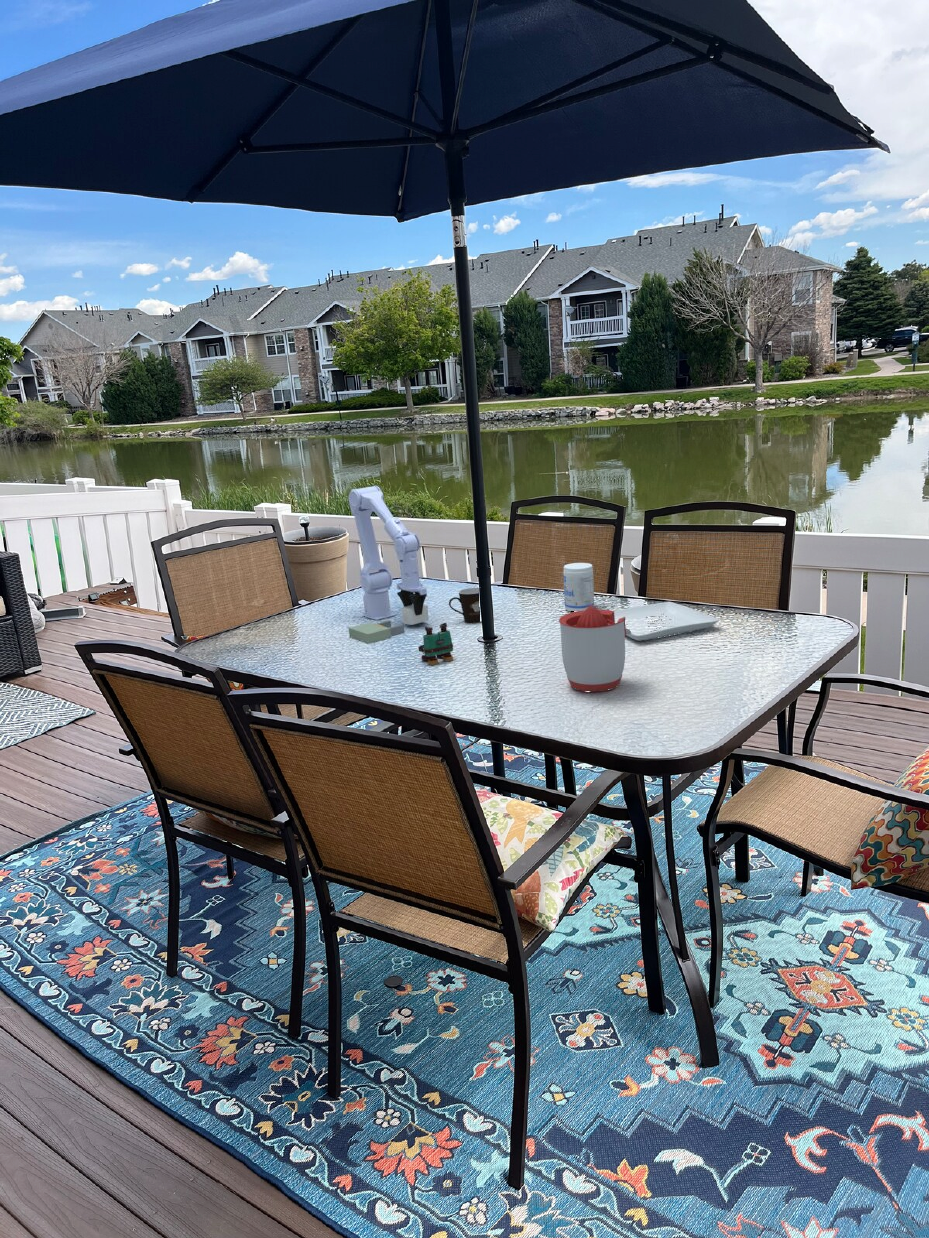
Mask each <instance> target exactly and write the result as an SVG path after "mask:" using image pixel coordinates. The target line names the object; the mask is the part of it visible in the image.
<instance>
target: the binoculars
mask: <svg viewBox="0 0 929 1238" xmlns="http://www.w3.org/2000/svg"><path fill="white" fill-rule="evenodd" d="M439 628H440V631H438V632H437V633H436V632H435V633H434V632H433V630H434V629H433V627H427V626H425V627H424V631H425V634H423V639H422V640H423V644H422V645H420V646H418V652H421V653H422V654H423V655H421V660H422V661H427V663H428V664H429V665H431V666H432V665H433V666H434V665H437V664H439V660H438V658H442V660H443V661H445V662H451V661H453V660H454V659H453V658H454V657H453V655H452V653H451V652H453V651H454V643H453V641H452V634H451V632H450V630H448V625H447V622H443V623H441V624H439Z"/></svg>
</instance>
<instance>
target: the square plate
mask: <svg viewBox="0 0 929 1238" xmlns="http://www.w3.org/2000/svg"><path fill="white" fill-rule="evenodd" d="M613 611H614V616H615V622H618V619H620V618H623V617H625V620H626V619H641V618H642V619H643V617H645V616H667V617H660V618H659V617H658V618H648V619H672V620H667V621H663V622H662V621H657V622H656V621H655V622H654V621H653V622H652V621H649V622H645V621H644V622H637V623H670V624H668V625H667V624H666V625H663V624H662V625H661V624H660V625H658V626H674V627H667V628H664V627H663V628H660V629H659V628H657V629H656V628H655V629H654V628H653V629H652V628H649V629H645V628H644V629H629V630H659V631H656V632H655V631H654V632H653V631H652V632H649V631H648V632H647V631H646V632H642V631H641V632H631V634H626V637H629V638H631V639H632V640H635V641H638V642H642V640H644V641H650V640H649V639H651V640H655V639H654V638H657V639H659V638H658V637H662V638H665V637H664V636H667V637H670V636H669V635H672V636H675V635H674V634H678V633H683V634H686V633H685V632H688V633H691V632H690V631H693V632H696V631H695V630H697V631H700V630H705V629H707V628H710V627H713V626H714V625H715V624H717V622H719V621H720V619H719V618H717V617H714V616H712V615H709V614H707V613H706V612H705V613H704V612H702V611H699V610H697V609H694V608H691V607H688V606H685V605H682V604H679V603H675V602H672V601H664V602H658V603H652V604H645V605H638V606H633V607H628V608H623V609H622V608H621V609H619V610H618V609H617V610H613ZM663 613H665V614H664V615H663ZM661 614H662V615H661ZM644 619H647V618H644ZM673 619H675V620H673ZM632 623H633V622H632ZM635 623H636V622H635ZM673 623H675V624H673ZM634 626H635V625H634ZM641 626H642V625H641ZM643 626H644V625H643ZM646 626H651V625H646ZM652 626H657V625H652ZM675 626H676V627H675ZM633 633H648V634H642V635H641V634H640V635H639V634H638V635H637V634H633ZM678 635H679V634H678Z"/></svg>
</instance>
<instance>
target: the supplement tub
mask: <svg viewBox="0 0 929 1238" xmlns="http://www.w3.org/2000/svg"><path fill="white" fill-rule="evenodd" d="M562 574H563V595H564V609H565V610H566V611H567V610H568V612H570V611H584V610H586V609H587V608H588V607H589V606H594V607H595V593H594V587H595V586H594V585H595V584H594V569H593V564H591V563H588V562H573V563H568V564H565V565H563V573H562Z"/></svg>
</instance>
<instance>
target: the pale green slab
mask: <svg viewBox="0 0 929 1238" xmlns="http://www.w3.org/2000/svg"><path fill="white" fill-rule="evenodd" d="M391 621H392V620H385V621H381V622H377V623H375V622H371V621H369V622H366V623H362V624H358V625H355V626H354V625H353V626H351V627H348V634H349V638H351V637H352V639H355V640H357V641H360V640H361V641H360V642H363V643H366V644H368V643H370V644H372V643H373V644H374V643H376V642H381V641H383V640H384V641H385V640H388V639H391V638H392V636H397V635H399V634H403V633H405V625H404V623H401V624H397V625H395V626H392V622H391ZM380 640H381V641H380Z"/></svg>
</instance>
